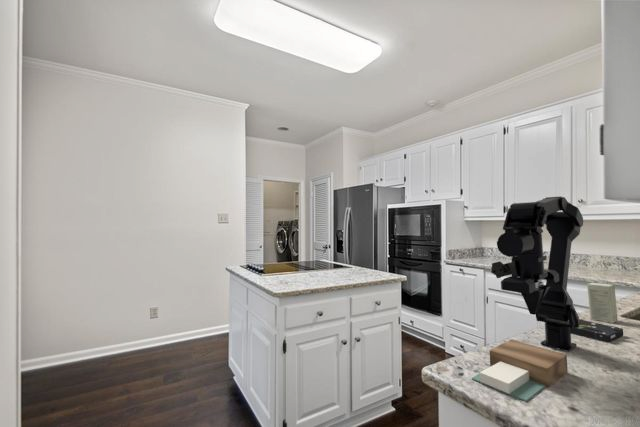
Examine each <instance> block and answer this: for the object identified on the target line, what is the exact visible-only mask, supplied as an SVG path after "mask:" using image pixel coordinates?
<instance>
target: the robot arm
mask: <svg viewBox="0 0 640 427" xmlns="http://www.w3.org/2000/svg"><path fill="white" fill-rule="evenodd" d="M545 226H546V228H545V229H546V230H547V232H548V233H549V235H550V237H551V241H550V249H549V256H548V257H549V258H548V257H547V255H544V249H543V248H544V246H543V234H542V233H544V230H543V229H542V227H545ZM583 226H584V216H583V214H582V212H581V211H580V208H579V207H577V206H576V205H573V204H572V203H570V202H568V200H567V198H566V197H564V196H549V197H548V196H547V197H545V198H542V199H540V200H537V201H528V202H513V203H512V204H510V206H509V208H507V213H506V215H505V219H504V223H503V226H502V231H504V233H502V234H500V236H499V237H497V238H498V239H497V241H496V247H497V249H498V251H499V252H500V253H501V254H502V255H504V256H506V257H510V258H511V261H509V262H506V263H503V262H502V261H496V262H493V263H491V267H490V268H491V271H490V273H491V274H493V275H494V276H495V277H496V279H500V278H503V277H505V278H503V279H502V280H501V281H500V289H501V290H502V291H508V292H514V293H519V294H521V295H522V296H521V297H522V298H523V300H524V302H525V305H526V307H527V310H528V312H529V314H530V315H533V316H534V315H535V319H536V321H537V322H541V323H544V331H545V332H544V334H545V339H544V340H542V341H540V345H542V346H545V347H550V348H552V349H557V350H561V351H565V352H570V351H572V350H573V349H574V348H576V347H577V343H574V342H572V334H571V328H579V319H580V316H579V314H578V313H577V310H576V308H575V306H574V305H573V304H574V301H573V299H572V297H571V296H570V294H569V292H568V291H567V288H568V280H569V279H568V278H569V270H570V261H571V260H570V259H571V250H572V244H573V243H572V242H573V241H574V240H575V239H576V238H577V237H578V236H580V234H581V228H582V227H583ZM547 258H548V260H547ZM545 261H548V266H547V269H546V268H545V265H544V264H545V263H544V262H545ZM510 275H511V276H510ZM506 276H507V277H506ZM543 280H545V281H546V283H545V282H543ZM544 283H545V284H544ZM568 320H569V321H568Z"/></svg>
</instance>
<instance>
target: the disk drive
mask: <svg viewBox="0 0 640 427" xmlns="http://www.w3.org/2000/svg"><path fill="white" fill-rule="evenodd" d="M568 321H569V320H568ZM571 335H576V336H580V337H582V338H583V337H584V338H586V339H591V340H595V341H599V342H603V343H606V344H610V343H612V342H613V341H616V340H618V339H621V338H622V337H624V329H623V328H621V327H619V326H618V327H616V326H612V325H607V324H603V323H599V322H594V321H589V320H585V319H581V318H579V328H571Z"/></svg>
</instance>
